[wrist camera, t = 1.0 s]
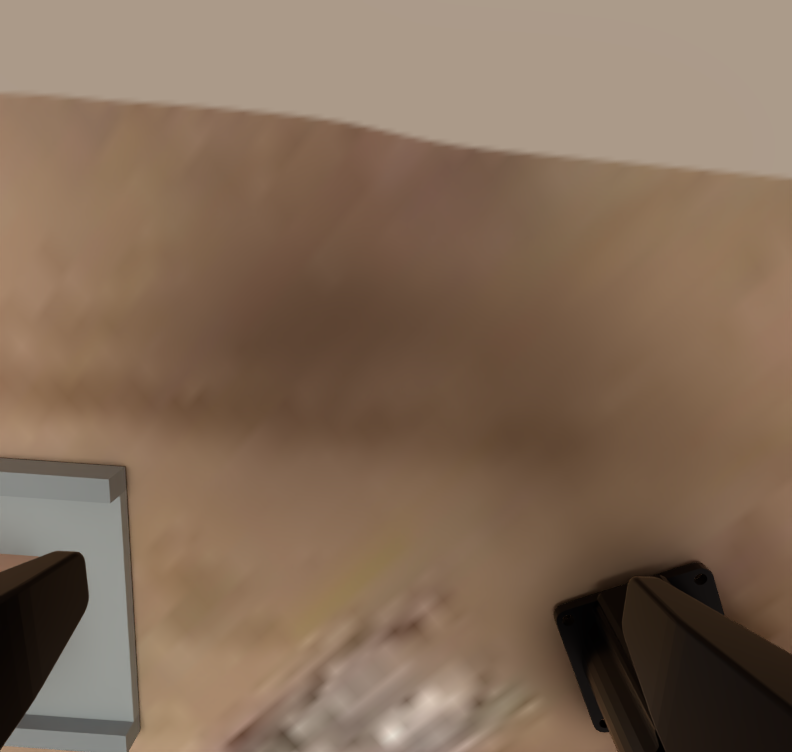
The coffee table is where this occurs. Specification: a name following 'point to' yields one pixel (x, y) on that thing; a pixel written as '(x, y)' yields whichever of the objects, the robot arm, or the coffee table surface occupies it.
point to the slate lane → (107, 608)
